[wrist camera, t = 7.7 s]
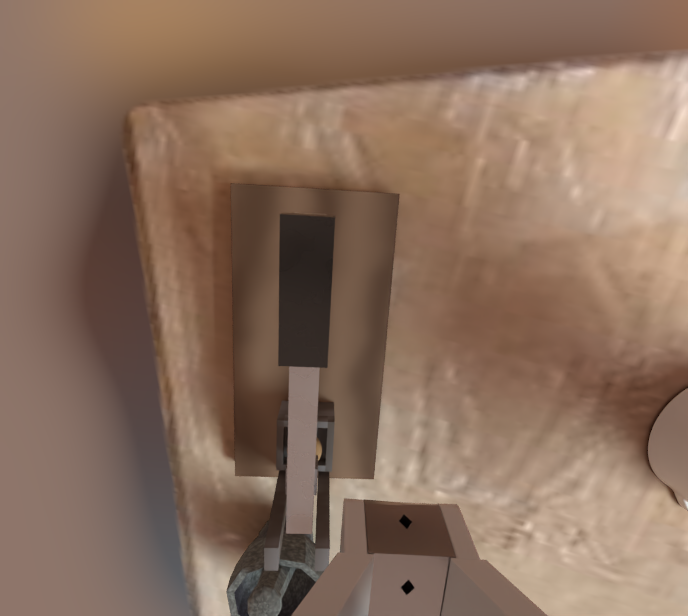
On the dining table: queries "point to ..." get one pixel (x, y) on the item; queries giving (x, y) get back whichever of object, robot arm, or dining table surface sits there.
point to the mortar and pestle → (273, 577)
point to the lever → (304, 349)
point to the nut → (318, 448)
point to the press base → (343, 353)
